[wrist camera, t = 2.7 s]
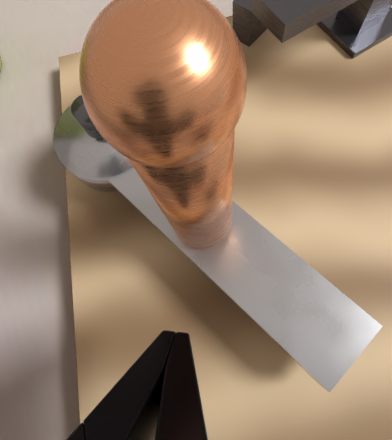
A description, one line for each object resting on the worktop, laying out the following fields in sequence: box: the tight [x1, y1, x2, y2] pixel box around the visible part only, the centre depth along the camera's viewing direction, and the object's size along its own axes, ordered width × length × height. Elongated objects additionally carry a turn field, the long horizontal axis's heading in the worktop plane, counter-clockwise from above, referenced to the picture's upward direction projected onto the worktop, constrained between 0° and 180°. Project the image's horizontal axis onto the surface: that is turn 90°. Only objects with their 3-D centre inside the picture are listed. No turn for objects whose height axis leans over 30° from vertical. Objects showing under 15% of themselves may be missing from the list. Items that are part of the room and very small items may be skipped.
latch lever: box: [53, 0, 383, 392], centre depth 10 cm, size 18×5×12 cm, turn 46°
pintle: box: [71, 95, 103, 139], centre depth 16 cm, size 4×4×5 cm
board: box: [59, 16, 392, 440], centre depth 17 cm, size 25×22×1 cm
